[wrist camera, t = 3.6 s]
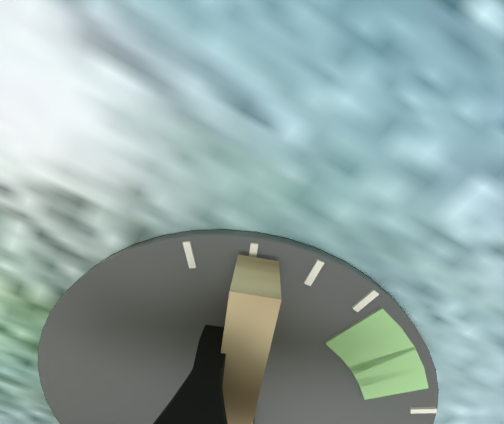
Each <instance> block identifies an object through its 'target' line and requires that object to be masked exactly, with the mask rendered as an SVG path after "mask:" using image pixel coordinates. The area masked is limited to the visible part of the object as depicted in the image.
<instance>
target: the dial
mask: <svg viewBox="0 0 504 424" xmlns="http://www.w3.org/2000/svg"><path fill="white" fill-rule="evenodd" d="M238 255H244V256H250V257H256V258H262V259H268V260H274V261H279V269H280V284H281V299H282V300H281V304H280V309H279V313H278V317H277V321H276V326H275V330H274V334H273V338H272V342H271V347H270V351H269V355H268V359H267V364H266V368H265V372H264V376H263V381H262V385H261V389H260V393H259V398H258V402H257V406H256V410H255V415H254V419H255V424H433V423H434V419H435V415H436V412H437V405H438V383H437V376H436V369H435V366H434V364H433V361H432V358H431V355H430V352H429V350H428V348H427V346H426V344H425V343H424V341H423V339H422V337H421V336H420V334H419V332H418V331H417V329H416V327H415V326H414V325H413V323H412V322H411V320H410V319H409V317H408V316H407V315H406V313H405V312H404V311H403V310H402V309H401V307H400V306H399V305H398V304H397V303H396V301H395V300H394V299H393V298H392V297H391V296H390V295H389V294H388V293H387V292H386V291H385V290H384V289H382V288H381V287H380V286H379V285H378V284H377V283H376V282H374V281H373V280H372V279H371V278H370V277H368V276H367V275H365V274H364V273H362V272H360V271H359V270H357V269H356V268H354V267H353V266H351V265H350V264H348V263H347V262H345V261H343V260H341V259H339V258H336V257H334V256H332V255H330V254H328V253H326V252H324V251H322V250H320V249H317V248H314V247H311V246H308V245H305V244H302V243H299V242H296V241H293V240H290V239H287V238H282V237H277V236H272V235H267V234H263V233H258V232H248V231H236V230H198V231H188V232H181V233H175V234H169V235H163V236H160V237H156V238H153V239H150V240H147V241H143V242H140V243H137V244H134V245H132V246H130V247H128V248H126V249H123V250H121V251H119V252H117V253H115V254H113V255H111V256H109V257H108V258H106V259H105V260H103V261H102V262H100V263H99V264H98V265H96V266H95V267H93V268H92V269H90V270H89V271H88V272H87V273H86V274H84V275H83V276H82V277H81V278H80V279H79V280H78V281H77V282H75V283H74V284H73V285H72V286H71V287H70V288H69V289H68V290H67V291H66V292H65V293H64V294H63V295H62V296H61V298H60V299H59V301H58V302H57V303H56V305H55V306H54V308H53V309H52V310H51V312H50V314H49V316H48V318H47V321H46V323H45V325H44V327H43V329H42V333H41V338H40V342H39V347H38V370H39V377H40V383H41V386H42V389H43V392H44V395H45V398H46V401H47V403H48V404H49V406H50V408H51V410H52V412H53V414H54V416H55V417H56V419H57V420H58V422H59V423H60V424H153V423H154V422H155V420H156V419H157V418H158V417H159V415H160V414H161V413H162V411H163V410H164V409H165V408H166V406H167V405H168V404H169V402H170V401H171V400H172V398H173V397H174V395H175V394H176V393H177V391H178V390H179V388H180V387H181V385H182V384H183V383H184V381H185V380H186V378H187V377H188V375H189V374H190V372H191V371H192V369H193V365H194V361H195V356H196V352H197V347H198V343H199V339H200V337H201V334H202V331H203V329H204V327H205V325H212V326H219V327H224V326H225V319H226V312H227V305H228V298H229V291H230V287H231V282H232V278H233V274H234V269H235V265H236V261H237V256H238Z"/></svg>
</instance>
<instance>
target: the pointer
mask: <svg viewBox="0 0 504 424" xmlns="http://www.w3.org/2000/svg"><path fill="white" fill-rule="evenodd" d="M281 300H282V299H281V284H280V269H279V261H274V260H268V259H262V258H256V257H250V256H244V255H238V256H237V261H236V265H235V269H234V274H233V278H232V282H231V287H230V291H229V298H228V305H227V312H226V319H225V326H224V333H223V340H222V347H221V353H224V354H226V358H225V367H224V376H223V385H222V388H223V397H224V404H225V411H226V417H227V423H228V424H255V419H254V415H255V410H256V406H257V402H258V398H259V393H260V389H261V385H262V381H263V376H264V372H265V368H266V364H267V359H268V355H269V351H270V347H271V342H272V338H273V334H274V330H275V326H276V321H277V317H278V313H279V309H280V304H281Z"/></svg>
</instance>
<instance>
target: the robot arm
mask: <svg viewBox="0 0 504 424" xmlns="http://www.w3.org/2000/svg"><path fill="white" fill-rule="evenodd" d="M223 333H224V327H219V326H212V325H205V327H204V329H203V331H202V334H201V337H200V339H199V343H198V347H197V352H196V356H195V361H194V365H193V369H192V371H191V372H190V374H189V375H188V377H187V378H186V380H185V381H184V383H183V384H182V385H181V387H180V388H179V390H178V391H177V393H176V394H175V395H174V397H173V398H172V400H171V401H170V402H169V404H168V405H167V406H166V408H165V409H164V410H163V411H162V413H161V414H160V415H159V417H158V418H157V419H156V420H155V422H154V423H153V424H228V423H227V417H226V411H225V404H224V397H223V388H222V385H223V376H224V367H225V358H226V354H224V353H221V347H222V340H223Z"/></svg>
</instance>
